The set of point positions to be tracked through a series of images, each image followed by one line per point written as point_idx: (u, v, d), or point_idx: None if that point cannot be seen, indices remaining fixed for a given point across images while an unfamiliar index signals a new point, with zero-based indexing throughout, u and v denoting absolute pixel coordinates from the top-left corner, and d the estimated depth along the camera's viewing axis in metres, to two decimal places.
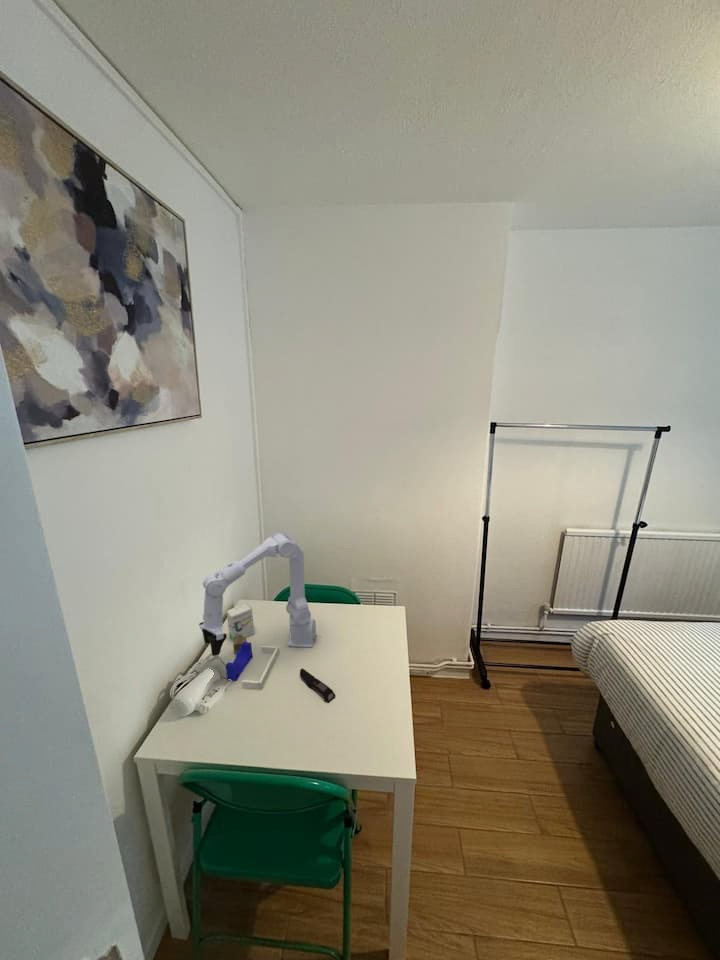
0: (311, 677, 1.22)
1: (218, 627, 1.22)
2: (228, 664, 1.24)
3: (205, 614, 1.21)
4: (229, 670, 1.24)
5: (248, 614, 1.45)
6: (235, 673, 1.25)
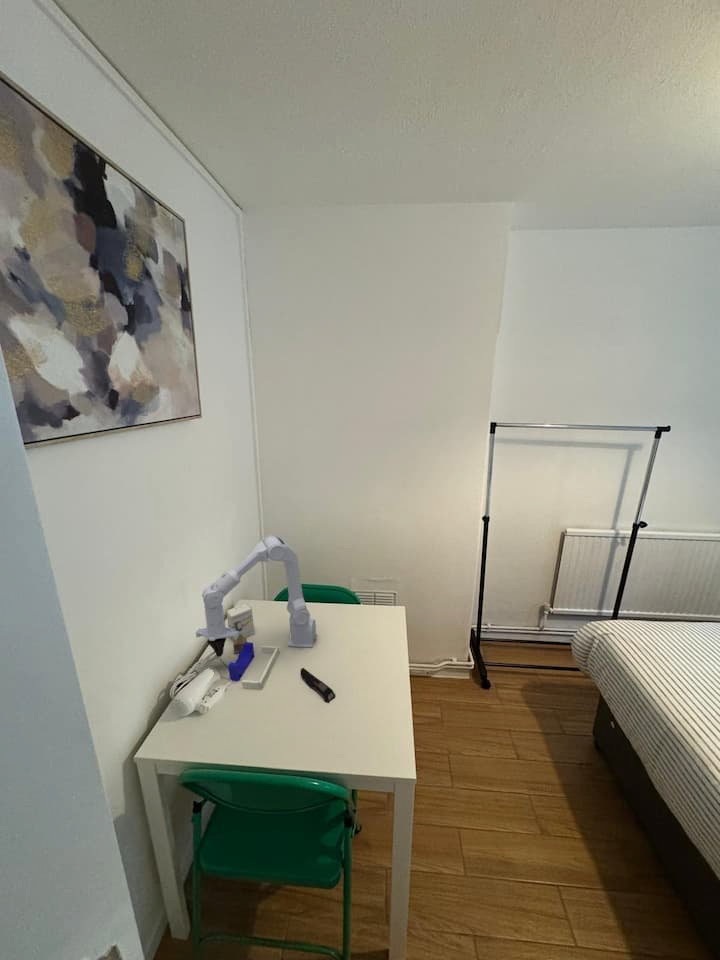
0: (311, 677, 1.22)
1: (226, 631, 1.29)
2: (231, 664, 1.24)
3: (213, 625, 1.25)
4: (232, 670, 1.24)
5: (248, 614, 1.45)
6: (238, 673, 1.25)
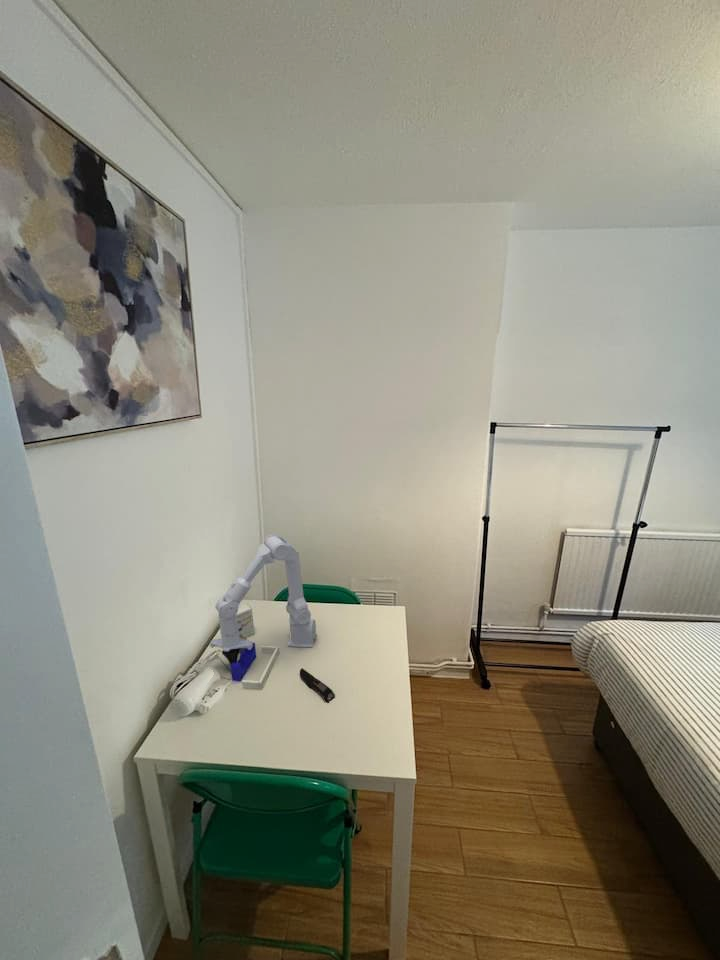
0: (311, 677, 1.22)
1: (240, 641, 1.29)
2: (233, 664, 1.24)
3: (227, 636, 1.25)
4: (234, 670, 1.24)
5: (248, 614, 1.45)
6: (240, 673, 1.24)
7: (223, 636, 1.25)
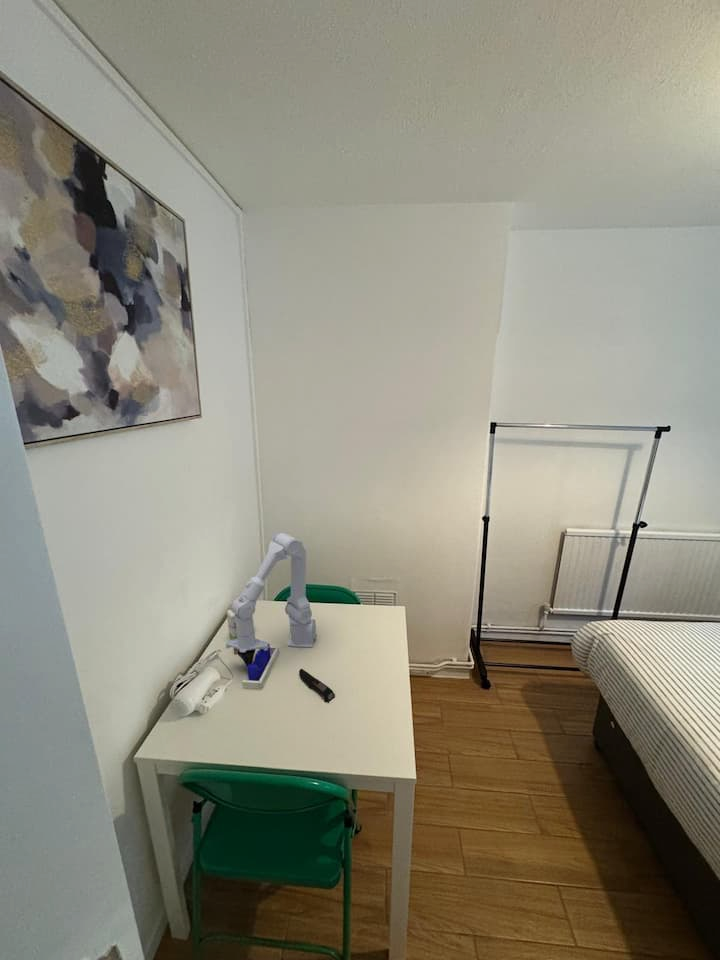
0: (310, 677, 1.22)
1: (256, 642, 1.29)
2: (249, 666, 1.23)
3: (244, 637, 1.24)
4: (251, 672, 1.23)
5: None
6: (257, 675, 1.24)
7: (239, 637, 1.25)
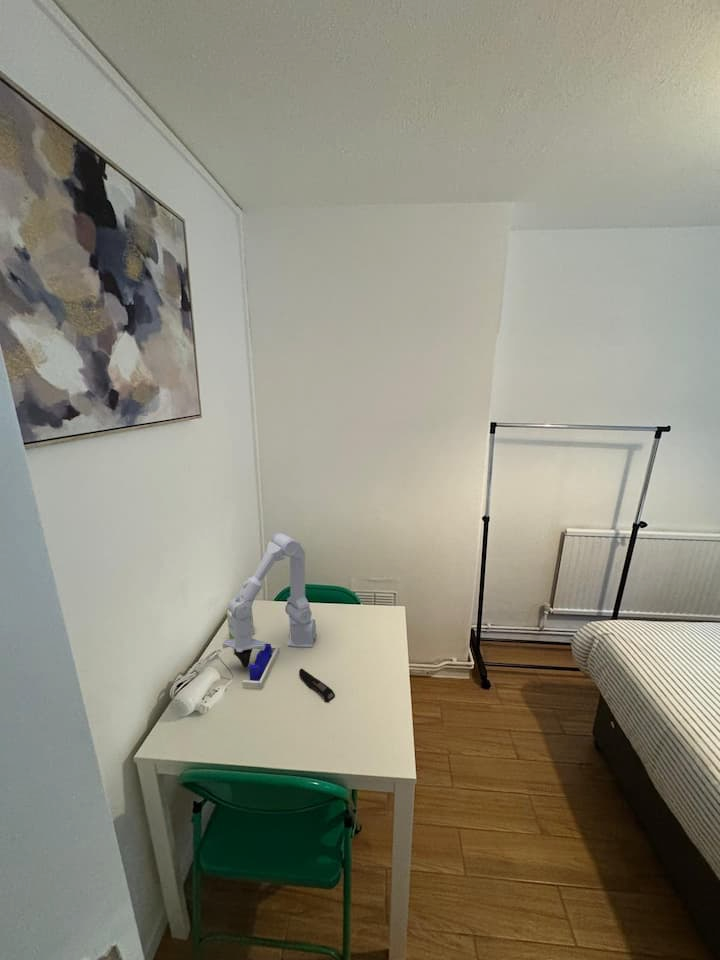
0: (310, 677, 1.22)
1: (253, 642, 1.29)
2: (251, 666, 1.23)
3: (240, 637, 1.24)
4: (253, 672, 1.23)
5: None
6: (258, 675, 1.24)
7: (236, 637, 1.25)
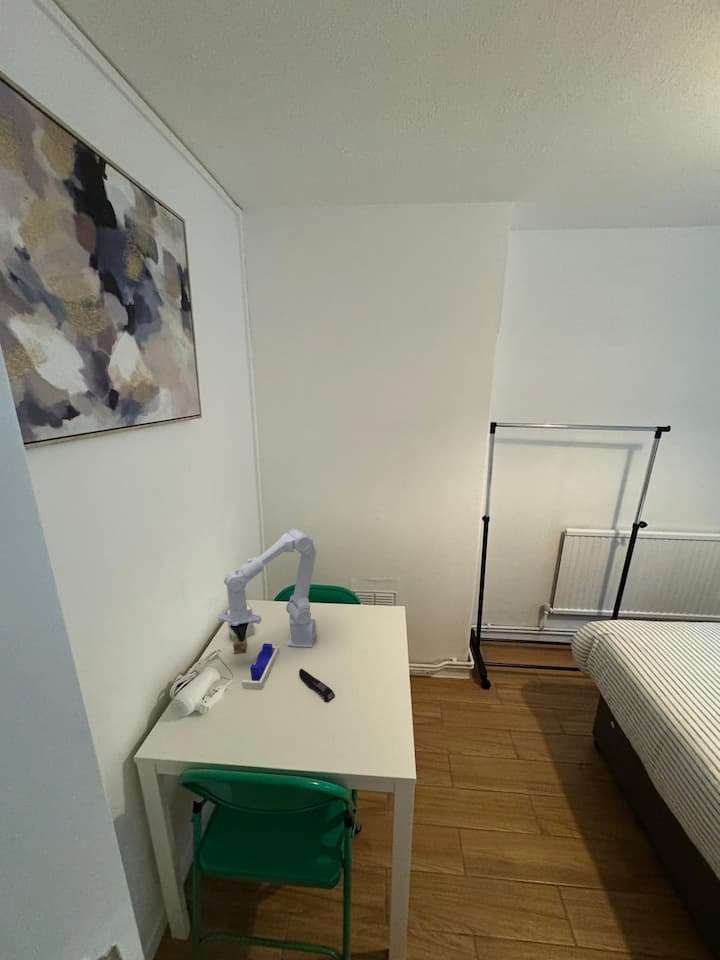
0: (310, 677, 1.22)
1: (248, 616, 1.29)
2: (253, 666, 1.23)
3: (236, 610, 1.25)
4: (254, 672, 1.23)
5: None
6: (260, 675, 1.24)
7: (232, 610, 1.25)
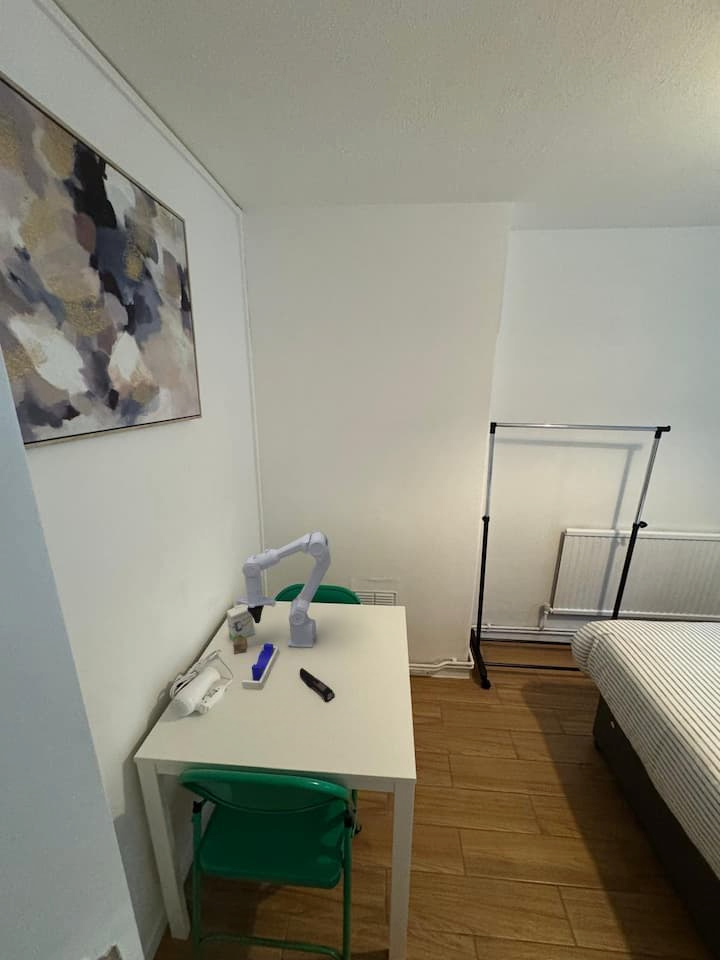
0: (311, 677, 1.22)
1: (264, 599, 1.39)
2: (254, 666, 1.23)
3: (253, 593, 1.35)
4: (256, 672, 1.23)
5: (248, 614, 1.45)
6: (261, 675, 1.24)
7: (249, 593, 1.35)
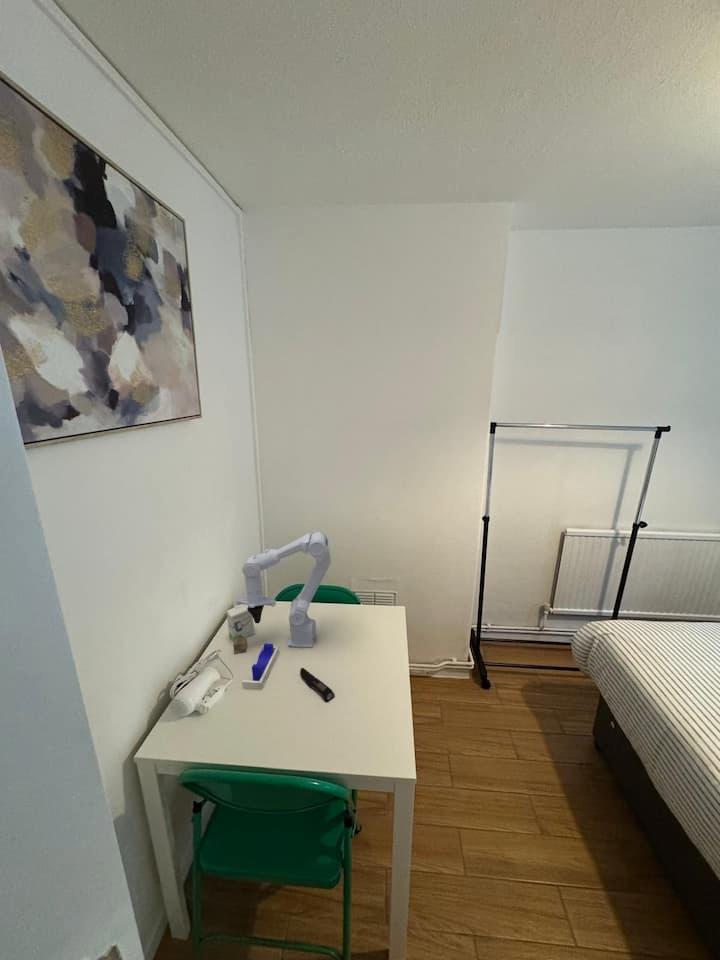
0: (311, 676, 1.22)
1: (264, 599, 1.39)
2: (254, 666, 1.23)
3: (253, 593, 1.35)
4: (256, 672, 1.23)
5: (248, 614, 1.45)
6: (261, 675, 1.24)
7: (249, 593, 1.35)
